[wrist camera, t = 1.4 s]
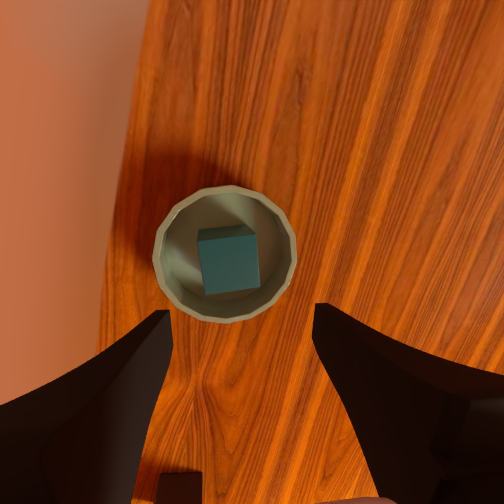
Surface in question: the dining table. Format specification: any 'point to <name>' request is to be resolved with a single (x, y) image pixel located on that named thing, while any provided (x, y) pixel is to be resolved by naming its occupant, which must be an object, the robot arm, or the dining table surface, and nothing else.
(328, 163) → the dining table surface
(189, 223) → the dish
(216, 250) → the teal block
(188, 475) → the dark brown block
